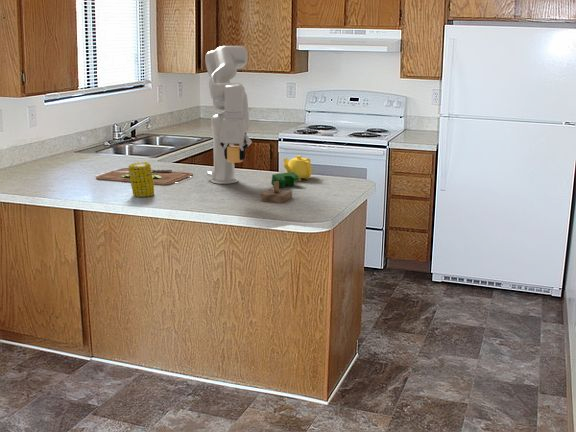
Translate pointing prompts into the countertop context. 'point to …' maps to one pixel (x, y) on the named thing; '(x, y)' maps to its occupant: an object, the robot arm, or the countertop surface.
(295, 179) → the clamp
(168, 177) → the chopping board
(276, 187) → the post block
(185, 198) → the countertop surface
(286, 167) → the teapot
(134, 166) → the food
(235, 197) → the countertop surface
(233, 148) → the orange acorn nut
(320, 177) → the countertop surface
